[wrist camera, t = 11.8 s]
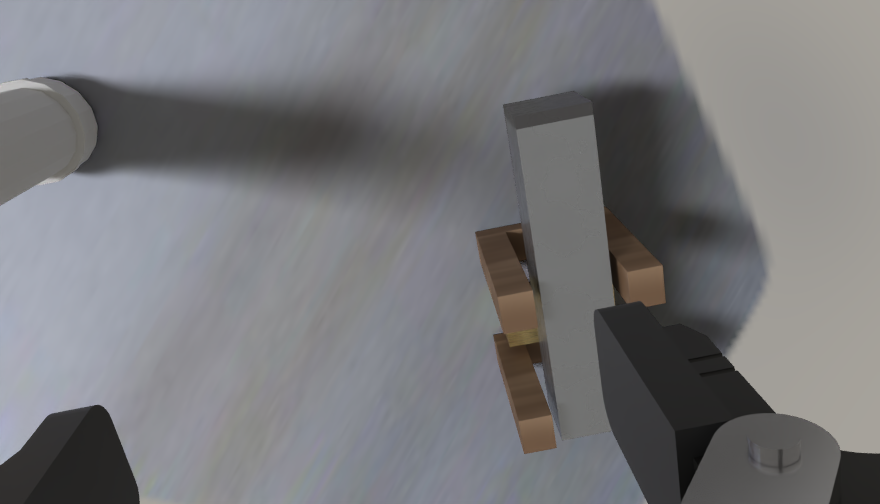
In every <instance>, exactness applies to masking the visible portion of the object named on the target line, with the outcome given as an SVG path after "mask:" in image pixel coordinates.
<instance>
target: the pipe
mask: <svg viewBox="0 0 880 504" xmlns="http://www.w3.org/2000/svg"><path fill="white" fill-rule="evenodd" d="M97 129H98V126H97V123H96V120H95V117H94V114H93V111H92V108H91V107H90V106H89V104H88V103H87V102H86V101H85V99H84V98H83V97H82V96H81V94H80V93H79V92H78V91H76V90H74V89H73V88H71V87H69V86H68V85H66V84H65V83H63V82H61V81H57V80H52V79H47V78H43V77H39V78H34V79H28V78H25V79H20V80H15V81H9V82H4V83H1V84H0V205H2V204H4V203H6V202H7V201H9V200H11V199H13V198H14V197H16V196H18V195H20V194H21V193H23V192H25V191H27V190H28V189H30V188H32V187H34V186H35V185H43V184H48V183H53V182H58V181H60V180H62V179H64V178H65V177H66V176H68V175H69V174H71V173H72V172H74V171H75V170H76V169H78V168H79V166H80V165H81V164H82V163H84V162H85V161H87V160H88V159H89V157H90V155H91V153H92V151H93V150H94V148H95V146H96V143H97Z"/></svg>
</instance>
